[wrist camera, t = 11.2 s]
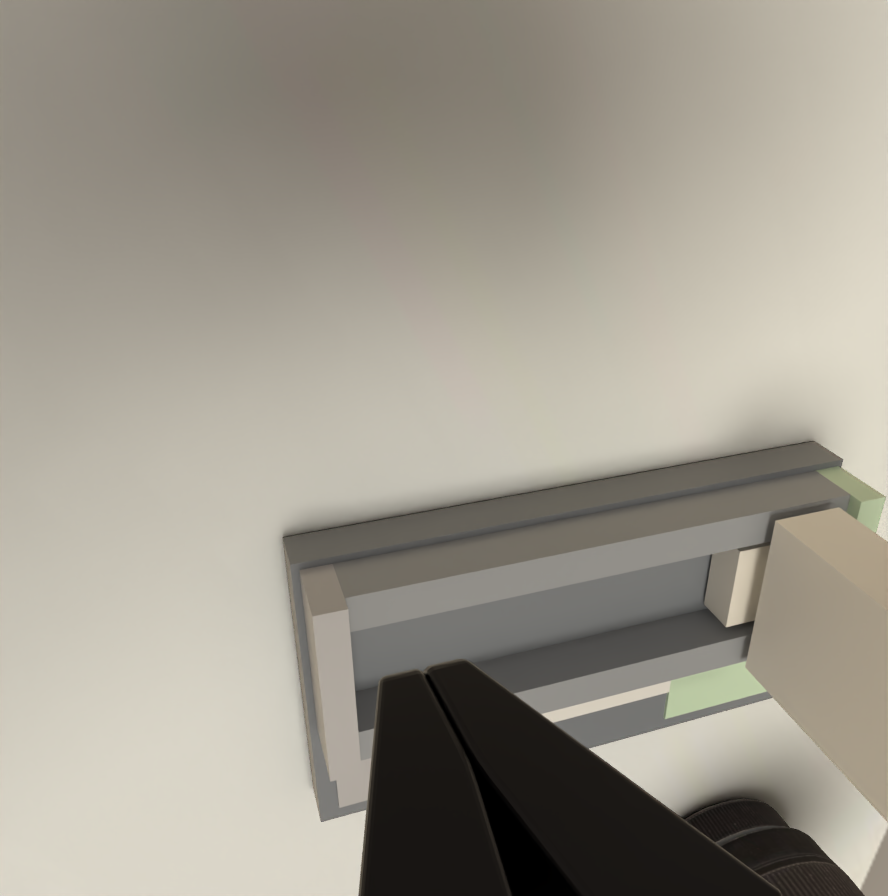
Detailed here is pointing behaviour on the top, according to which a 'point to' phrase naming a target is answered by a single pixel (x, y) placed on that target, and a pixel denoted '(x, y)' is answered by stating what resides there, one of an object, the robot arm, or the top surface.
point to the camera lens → (773, 849)
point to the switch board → (548, 601)
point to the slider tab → (818, 634)
